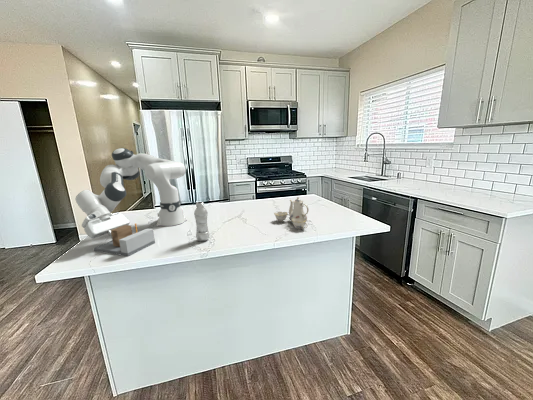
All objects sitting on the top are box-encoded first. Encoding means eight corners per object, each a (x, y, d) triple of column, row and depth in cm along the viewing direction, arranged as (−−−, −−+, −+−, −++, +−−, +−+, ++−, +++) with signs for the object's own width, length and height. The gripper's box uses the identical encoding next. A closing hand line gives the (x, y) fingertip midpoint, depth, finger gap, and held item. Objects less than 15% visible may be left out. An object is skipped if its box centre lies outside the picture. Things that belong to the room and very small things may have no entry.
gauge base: (94, 250, 117) (91, 236, 116) (123, 238, 132) (120, 225, 130) (128, 256, 110) (125, 240, 108) (155, 243, 125) (153, 229, 123)
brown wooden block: (113, 245, 118) (110, 230, 116) (134, 236, 129) (132, 222, 128) (119, 246, 117) (116, 230, 115) (140, 237, 128) (138, 222, 126)
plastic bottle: (197, 238, 129) (194, 201, 125) (210, 237, 130) (207, 200, 125) (195, 243, 123) (191, 204, 119) (208, 242, 123) (205, 203, 119)
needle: (134, 240, 124) (131, 224, 123) (139, 238, 127) (136, 222, 125) (136, 240, 124) (134, 224, 122) (141, 238, 127) (139, 222, 125)
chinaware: (269, 223, 155) (266, 198, 150) (288, 216, 165) (286, 192, 160) (302, 235, 133) (299, 206, 129) (321, 225, 143) (320, 198, 138)
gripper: (117, 215, 133) (133, 233, 132) (77, 226, 114) (95, 248, 113) (122, 207, 130) (138, 226, 129) (82, 218, 112) (101, 240, 110)
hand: (118, 237), depth 121 cm, fingers closed, pressing on brown wooden block
